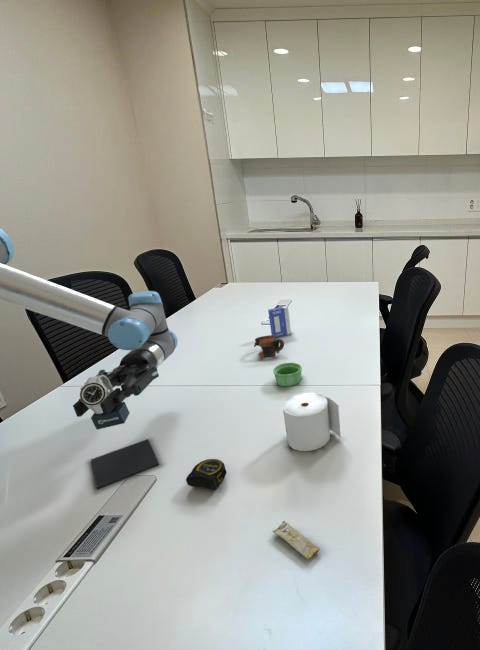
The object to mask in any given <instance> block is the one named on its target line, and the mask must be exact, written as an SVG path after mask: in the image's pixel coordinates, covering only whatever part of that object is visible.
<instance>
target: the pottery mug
mask: <svg viewBox="0 0 480 650" xmlns="http://www.w3.org/2000/svg"><path fill="white" fill-rule="evenodd" d="M254 340H255V341H254V345H253V348H256V347H260V348H261V350H262V351H261V352H258V356H259V360H262V359H267V358H268V359H269V358H276V354H279V353H280V352H281V351H282V350H283V349H284V347H285V341H284V340H283V339H282V338H275V336H273V335H272V334H271V335H270V334H269V335H263V336H258V337H256V338H254Z"/></svg>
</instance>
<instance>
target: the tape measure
mask: <svg viewBox="0 0 480 650" xmlns="http://www.w3.org/2000/svg"><path fill="white" fill-rule="evenodd" d="M227 474H228V471H227V469H226V465H225V463H224V462H223V461H222V460H220V459H218V458H207V459H203V460H202V461H200V462H198V463H196V465H194V467H193V468H192V469H191V472H189V474H187V476H186V478H185V482H186V485H188V486H190V487H192V488H193V487H194V488H201V489H205V490H206V489H207V490H209V491H216V490H217V489H218V488H219V485H220V484H221V483H222V482H224V480H225V479H226V475H227Z"/></svg>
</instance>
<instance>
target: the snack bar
mask: <svg viewBox="0 0 480 650" xmlns="http://www.w3.org/2000/svg"><path fill="white" fill-rule="evenodd" d="M272 532H273V534H275V535H278V537H280V538H281V539H283V540H284V541H285V542H287V544H289V545H290V546H291V547H292V548H293V549H295V550H296V551H297V552H298V553H299V554H301V555H302V556H303V557H304V558H306V559H310V558H312V557H313V556H314V555H316V554H317V553H318V552H319V551H321V548H320V547H318V546H317V545H316V544H314V543H313V542H311V541H310V539H308V538H307V537H305V536H304V535H302V534H301V533H300V532H299V531H298V530H296V529H295V528H294V527H292V526H291V524H289V523H288V522H287V521H285V520H283V521H282V522H281V524H280V525H278V527H277V528H276V529H274V530H272Z"/></svg>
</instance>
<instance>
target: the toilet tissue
mask: <svg viewBox="0 0 480 650" xmlns="http://www.w3.org/2000/svg"><path fill="white" fill-rule="evenodd" d="M339 407H340V406H339V405H338V404H337V402H336V401H334V400H333V399H331V398H330V397H327V396H325V395H322V394H320V393H315V392H302V393H297V394H294V395H292V396H290V397H288V398H287V399H286V400H284V402H283V403H282V414H283V420H284V426H285V428H284V429H285V434H286V441H287V444H288V446H289V447H290V448H291V449H293V450H294V451H298V452H312V451H315V450H318V449H321V448H323V447H324V446H325V445H327V443H329V440H330V439H331V432H333V434H335V435H337V436H338V437H339V439H341V438H342V437H341V436H342V435H341V425H340V424H341V423H340V409H339Z"/></svg>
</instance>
